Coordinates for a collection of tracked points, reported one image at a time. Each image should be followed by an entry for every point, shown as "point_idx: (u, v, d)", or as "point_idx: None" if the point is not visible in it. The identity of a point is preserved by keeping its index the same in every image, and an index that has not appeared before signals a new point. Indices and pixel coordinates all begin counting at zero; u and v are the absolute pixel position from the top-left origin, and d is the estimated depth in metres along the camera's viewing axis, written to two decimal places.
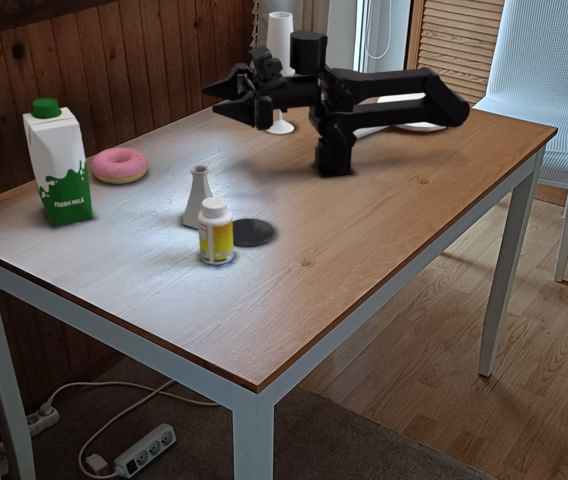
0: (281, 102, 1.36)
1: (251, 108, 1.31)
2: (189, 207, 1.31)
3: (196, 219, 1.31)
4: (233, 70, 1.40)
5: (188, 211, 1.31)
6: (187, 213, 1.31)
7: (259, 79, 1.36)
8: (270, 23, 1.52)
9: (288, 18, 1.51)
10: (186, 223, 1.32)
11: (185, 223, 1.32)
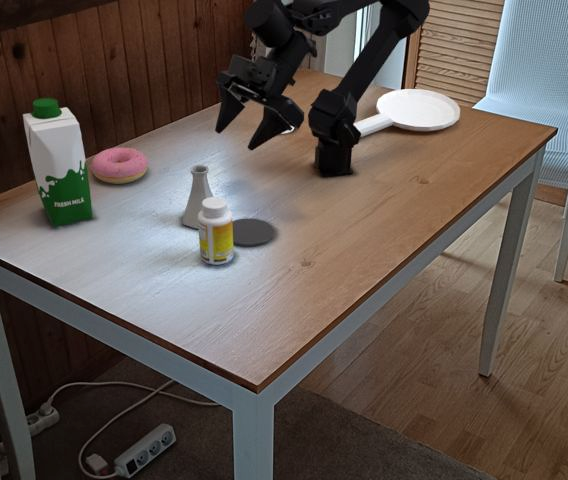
0: (286, 81, 1.28)
1: (279, 120, 1.25)
2: (189, 207, 1.31)
3: (196, 219, 1.31)
4: (222, 90, 1.31)
5: (188, 211, 1.31)
6: (187, 213, 1.31)
7: (254, 82, 1.27)
8: None
9: None
10: (186, 223, 1.32)
11: (185, 223, 1.32)
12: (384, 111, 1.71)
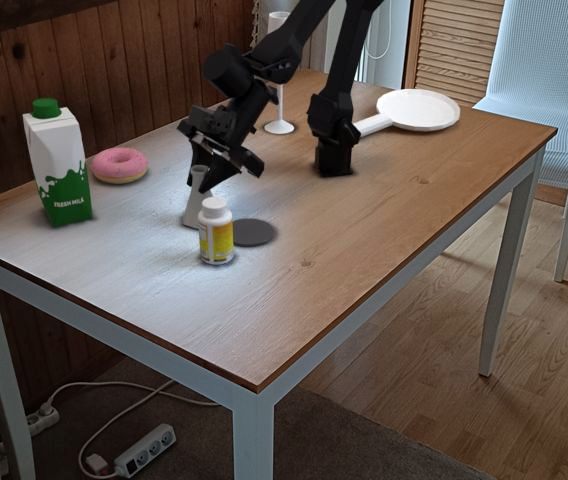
0: (247, 130, 1.27)
1: (228, 164, 1.26)
2: (189, 207, 1.31)
3: (196, 219, 1.31)
4: (193, 143, 1.28)
5: (188, 211, 1.31)
6: (187, 213, 1.31)
7: None
8: (270, 23, 1.52)
9: None
10: (186, 223, 1.32)
11: (185, 223, 1.32)
12: (384, 111, 1.71)
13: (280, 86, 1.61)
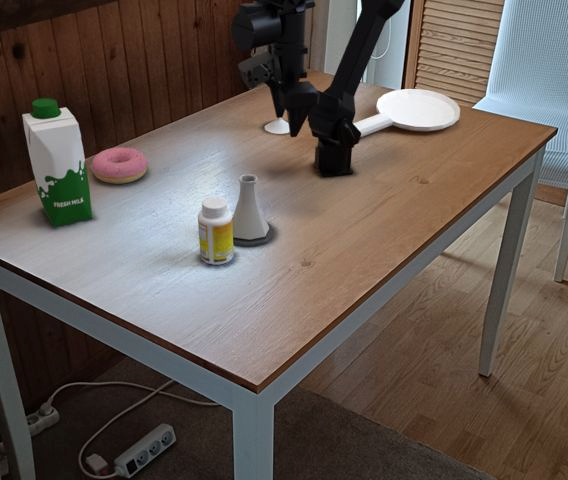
0: (295, 57, 1.26)
1: (296, 107, 1.27)
2: (239, 219, 1.27)
3: (249, 230, 1.27)
4: None
5: (239, 223, 1.27)
6: (238, 225, 1.27)
7: None
8: None
9: None
10: (237, 236, 1.28)
11: (236, 236, 1.28)
12: (384, 111, 1.71)
13: None
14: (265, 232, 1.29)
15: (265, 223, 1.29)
